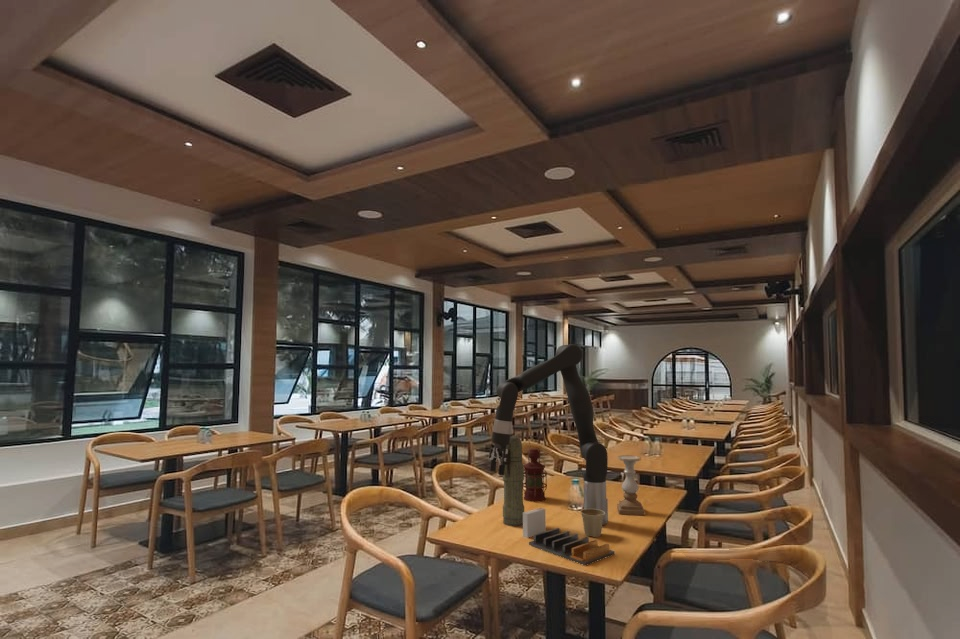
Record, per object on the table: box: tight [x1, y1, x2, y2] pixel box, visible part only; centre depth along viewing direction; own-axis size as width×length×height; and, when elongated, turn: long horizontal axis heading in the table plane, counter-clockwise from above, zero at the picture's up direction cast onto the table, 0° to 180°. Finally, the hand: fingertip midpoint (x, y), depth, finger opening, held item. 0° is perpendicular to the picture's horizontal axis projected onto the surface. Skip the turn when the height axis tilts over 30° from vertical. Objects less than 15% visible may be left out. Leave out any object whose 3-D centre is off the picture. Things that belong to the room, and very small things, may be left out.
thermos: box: [502, 436, 525, 527], centre depth 224 cm, size 9×12×35 cm
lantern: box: [523, 435, 548, 503], centre depth 262 cm, size 12×12×30 cm
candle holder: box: [616, 454, 646, 516], centre depth 239 cm, size 11×11×24 cm
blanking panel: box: [522, 507, 547, 539], centre depth 208 cm, size 10×2×9 cm, turn 130°
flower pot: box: [579, 508, 605, 538], centre depth 208 cm, size 9×9×9 cm
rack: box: [528, 527, 616, 566], centre depth 191 cm, size 16×26×4 cm, turn 40°
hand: (496, 472), depth 213 cm, fingers open, 8 cm apart
